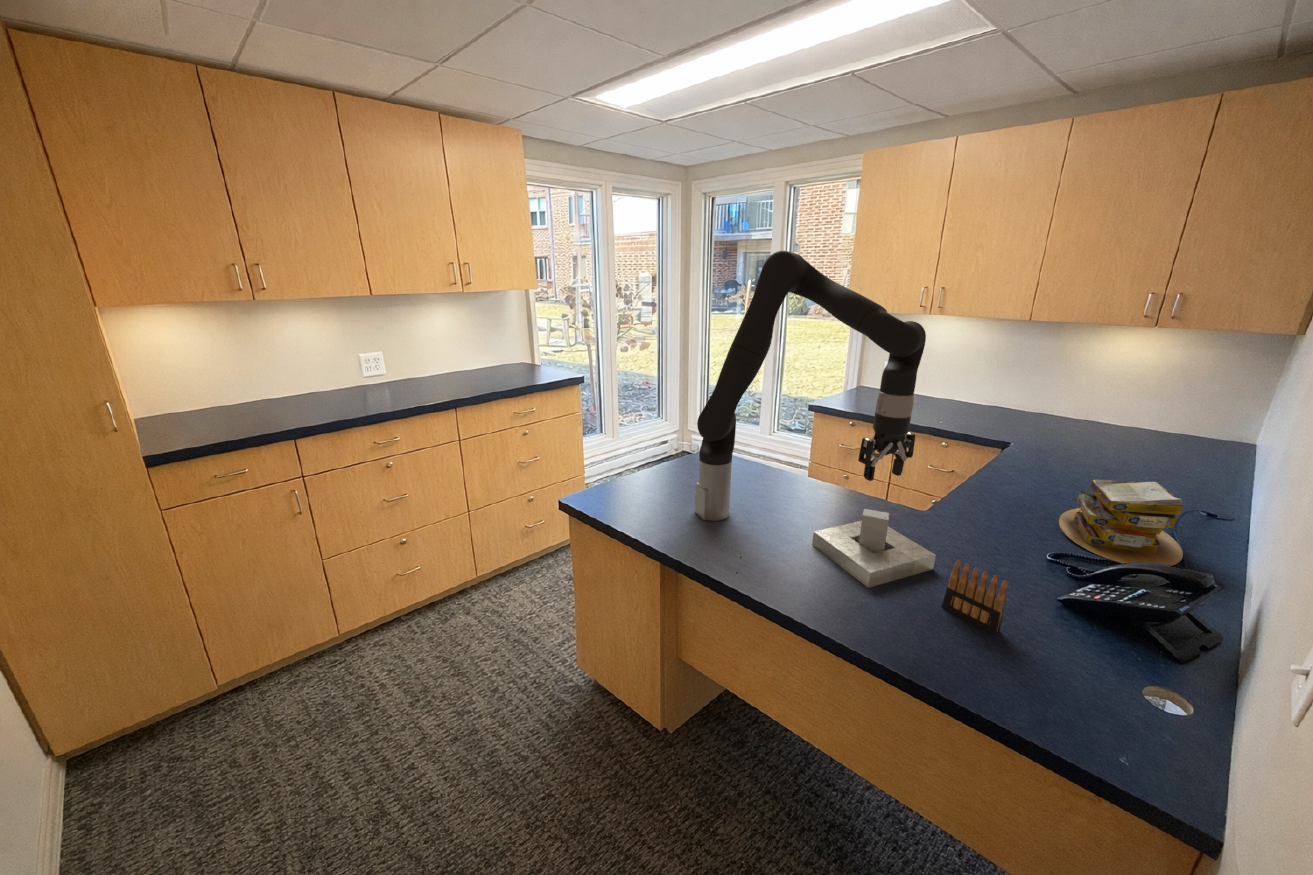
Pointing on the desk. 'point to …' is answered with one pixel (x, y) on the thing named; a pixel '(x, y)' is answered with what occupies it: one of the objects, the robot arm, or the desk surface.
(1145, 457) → the desk surface
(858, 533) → the frame
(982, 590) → the ammunition clip
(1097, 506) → the stacked yellow boxes
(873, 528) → the skincare box
